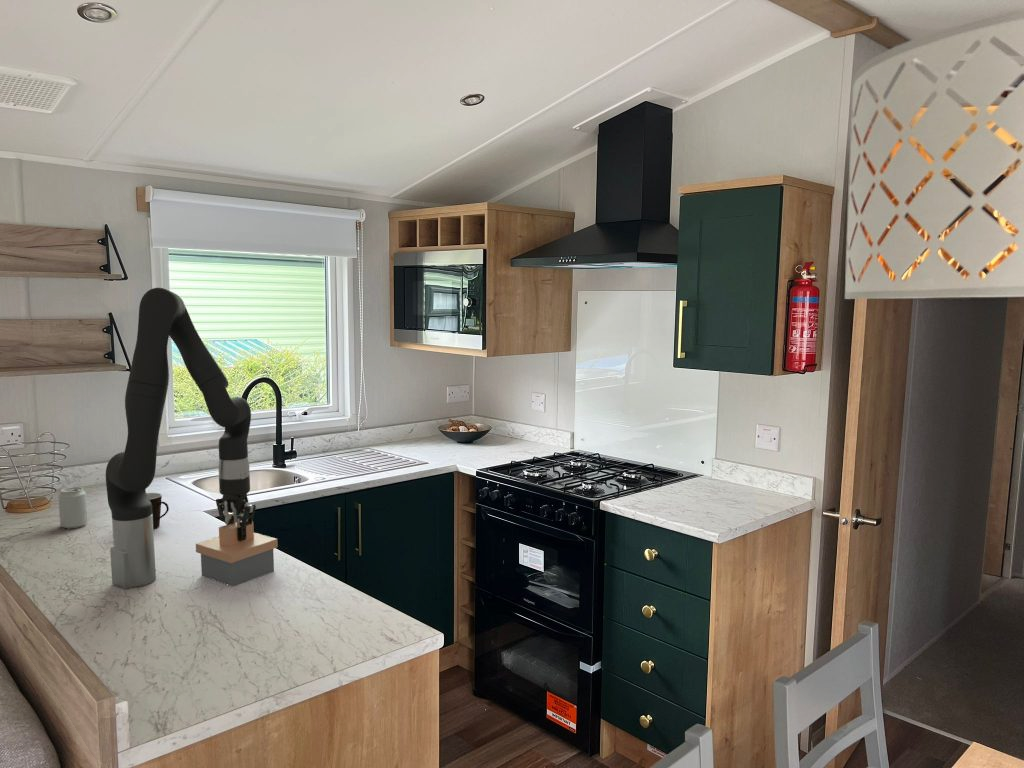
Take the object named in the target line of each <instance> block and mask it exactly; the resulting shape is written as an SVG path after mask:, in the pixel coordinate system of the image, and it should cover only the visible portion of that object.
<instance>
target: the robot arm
mask: <svg viewBox="0 0 1024 768" xmlns="http://www.w3.org/2000/svg"><path fill="white" fill-rule="evenodd" d="M190 316H191V315H190V314H189V311H188V309H187V307H186V305H185V302H184V300H183V299H182V297H180V296H179V295H178V294H177V293H175V292H173V291H171V290H169V289H166V288H163V287H153V288H151V289H148V290H147V291H146V292H145V293H144V294H143V296H142V297H141V299H140V302H139V307H138V323H137V335H136V342H135V346H134V351H133V357H132V359H131V360H132V361H131V365H130V371H129V374H128V379H127V384H126V385H127V386H126V389H125V390H126V391H125V395H124V396H125V397H124V409H125V418H126V424H127V437H126V438H127V439H126V444H125V448H124V451H122V452H118V453H116V454H115V455H113V456H112V457H111V458H110V459H109V460H108V462H107V465H106V468H105V484H106V485H105V486H106V487H105V488H106V495H107V503H108V508H109V509H110V512H111V525H112V541H113V542H112V544H113V546H112V547H110V550H109V551H110V552H109V553H110V569H111V583H112V585H114V586H116V587H120V588H122V589H124V590H126V589H130V588H138V587H141V586H145V585H148V584H151V583H152V582H155V580H156V578H157V577H156V576H157V575H156V574H157V573H156V572H157V569H156V558H155V557H156V556H155V555H156V554H155V536H154V535H155V533H154V529H153V514H152V504H151V502H150V500H149V499H148V497H147V494H146V493H147V491H146V489H148V488H149V487H150V486H151V484H152V483H153V481H154V479H155V478H154V477H155V476H156V467H157V453H158V440H159V435H160V431H161V430H160V429H161V424H162V419H163V413H164V408H165V403H166V399H167V393H168V389H169V388H168V387H169V381H170V367H169V358H168V342H169V338H170V339H171V340H172V341H173V343H174V344H175V346H176V348H177V349H178V351H179V353H180V355H181V359H182V361H183V363H184V366H185V368H186V370H187V372H188V373H189V375H190V377H191V378H192V381H194V383H195V384H196V386H197V387H198V389H199V390H200V392H201V394H202V395H203V398H204V399H203V400H204V402H205V405H206V408H207V410H208V414H209V415H210V417H211V419H212V420H213V421H214V422H215V423H216V424H217V425H218V426H220V427H222V428H224V433H223V434H222V436H221V437H220V438H219V440H218V484H219V485H218V486H219V488H218V489H219V494H220V495H222V497H219V498H216V499H215V504H216V507H217V511H218V515H219V518H220V521H222V522H223V521H224V524H225V525H228V524H232V523H235V522H236V523H237V540H238V541H243V540H245V539H246V526H247V525H251V524H252V522H254V521H253V520H254V517H255V513H256V509H257V507H256V506H257V505H256V504H254V503H253V504H251V503H250V502H249V498H248V494H249V492H250V491H251V479H250V478H251V477H250V476H251V475H250V463H249V452H248V451H249V450H248V449H249V448H248V447H249V446H248V437H249V433H250V427H251V420H252V411H251V410H252V409H251V407H250V404H249V403H248V401H247V400H246V399H245V398H243V397H240V396H234V397H230V394H229V392H228V389H227V388H228V386H229V380H228V378H227V376H226V375H225V374H224V372H223V370H222V368H221V367H220V365H219V364H218V363H217V361H216V360H215V358H214V357H213V355H212V353H210V351H209V349H208V347H207V346H206V344H205V343H204V341H203V340H202V338H201V336H200V334H199V333H198V330H197V329H196V327H195V325H194V323H193V321H192V318H191V317H190ZM241 521H242V522H241Z"/></svg>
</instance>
